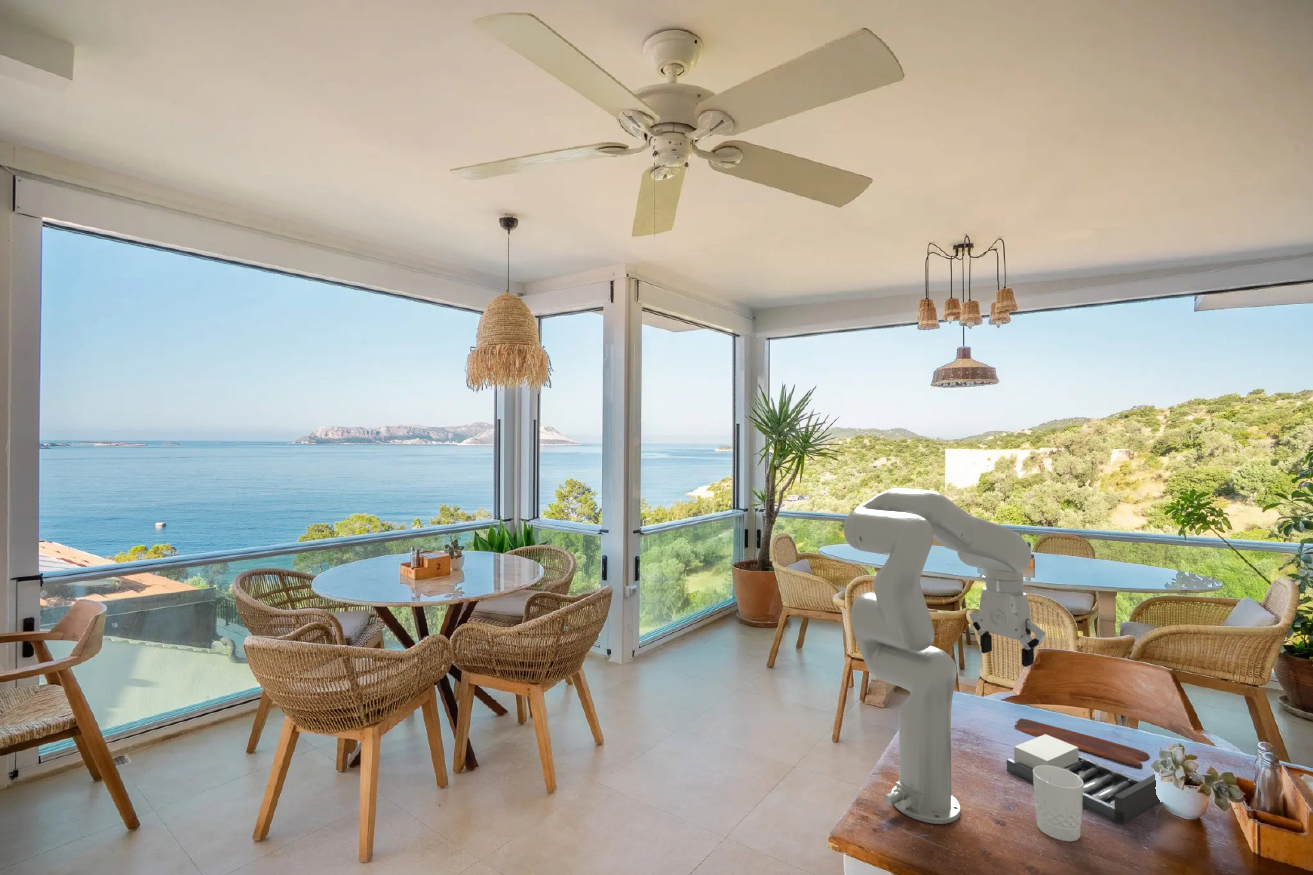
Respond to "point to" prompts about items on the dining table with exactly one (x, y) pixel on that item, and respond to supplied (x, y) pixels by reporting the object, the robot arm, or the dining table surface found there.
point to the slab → (1046, 752)
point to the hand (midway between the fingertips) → (1006, 658)
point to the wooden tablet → (1086, 743)
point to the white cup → (1058, 802)
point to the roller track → (1105, 789)
